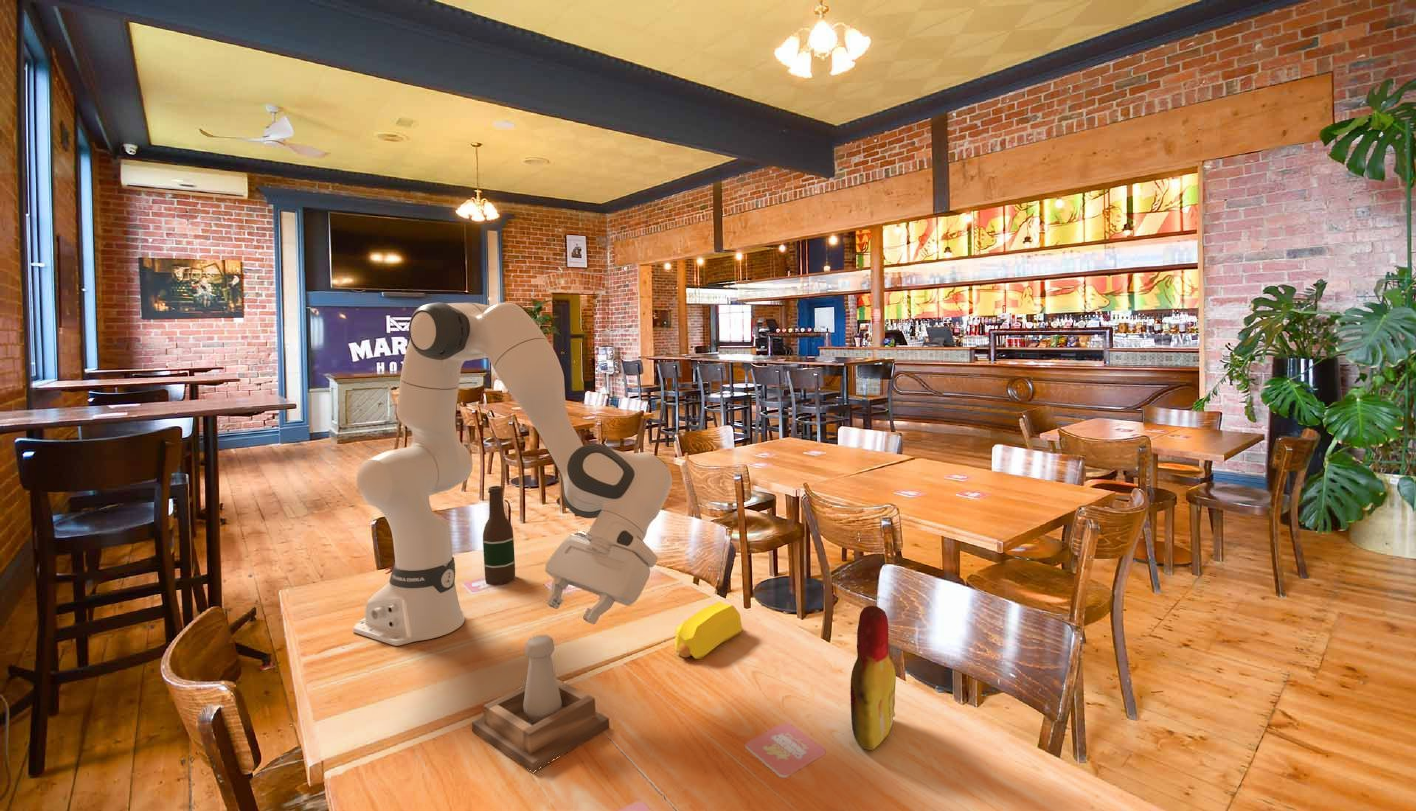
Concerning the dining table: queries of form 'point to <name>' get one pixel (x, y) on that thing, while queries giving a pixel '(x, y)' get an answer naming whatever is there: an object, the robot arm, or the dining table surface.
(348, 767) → the dining table surface
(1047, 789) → the dining table surface
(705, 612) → the yellow faceted rounded part
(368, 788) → the dining table surface
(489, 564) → the beer bottle
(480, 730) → the board
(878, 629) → the bottle
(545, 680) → the salt shaker
